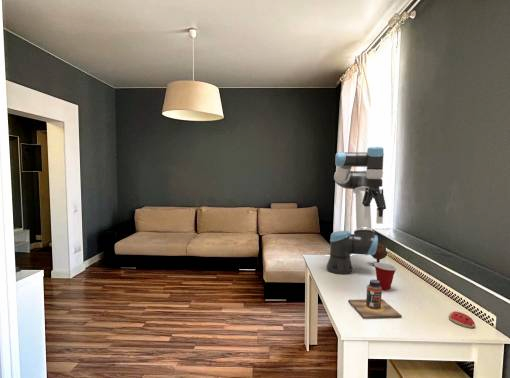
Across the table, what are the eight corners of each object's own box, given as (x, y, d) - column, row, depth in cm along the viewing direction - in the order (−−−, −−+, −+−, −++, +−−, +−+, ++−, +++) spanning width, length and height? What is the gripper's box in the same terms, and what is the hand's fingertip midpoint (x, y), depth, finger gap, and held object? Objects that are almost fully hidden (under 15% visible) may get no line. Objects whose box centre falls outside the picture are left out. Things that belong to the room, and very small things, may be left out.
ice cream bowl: (385, 269, 187) (386, 245, 186) (366, 266, 192) (367, 242, 192) (388, 264, 196) (389, 241, 195) (370, 261, 201) (371, 239, 201)
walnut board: (348, 301, 139) (348, 299, 139) (382, 301, 140) (382, 298, 140) (363, 318, 123) (363, 316, 123) (401, 317, 124) (401, 315, 124)
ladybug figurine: (455, 316, 127) (455, 307, 127) (480, 327, 118) (480, 318, 118) (444, 319, 124) (444, 310, 124) (468, 330, 115) (469, 321, 115)
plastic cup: (398, 293, 150) (399, 269, 149) (375, 291, 152) (376, 267, 151) (393, 285, 160) (394, 262, 160) (371, 283, 162) (372, 261, 162)
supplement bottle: (374, 310, 128) (375, 284, 127) (363, 305, 133) (364, 279, 133) (384, 308, 131) (385, 282, 130) (373, 302, 136) (373, 277, 135)
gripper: (395, 179, 139) (393, 225, 140) (370, 178, 164) (368, 217, 165) (379, 179, 138) (377, 225, 140) (356, 177, 163) (355, 217, 164)
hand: (372, 221), depth 152 cm, fingers open, 13 cm apart
